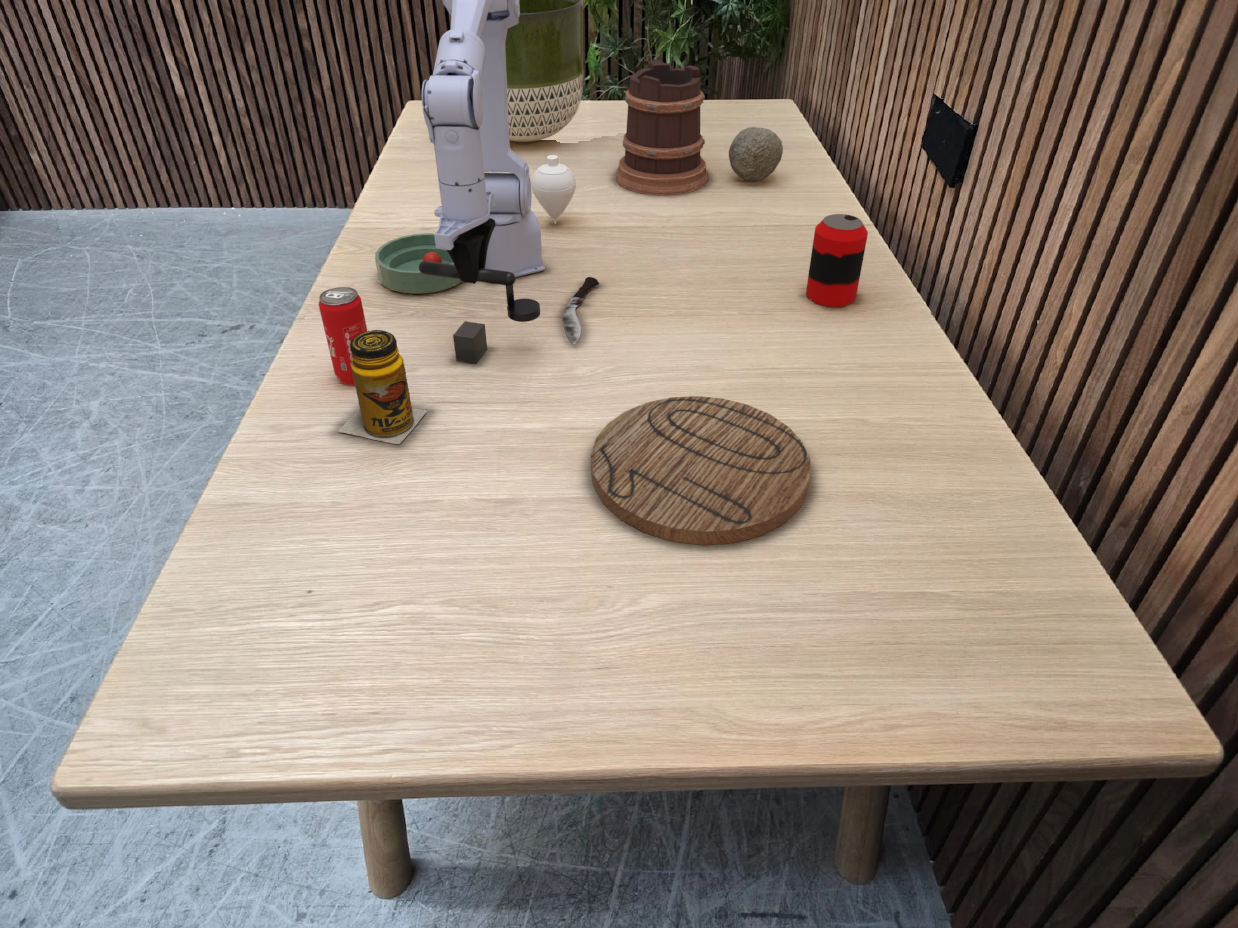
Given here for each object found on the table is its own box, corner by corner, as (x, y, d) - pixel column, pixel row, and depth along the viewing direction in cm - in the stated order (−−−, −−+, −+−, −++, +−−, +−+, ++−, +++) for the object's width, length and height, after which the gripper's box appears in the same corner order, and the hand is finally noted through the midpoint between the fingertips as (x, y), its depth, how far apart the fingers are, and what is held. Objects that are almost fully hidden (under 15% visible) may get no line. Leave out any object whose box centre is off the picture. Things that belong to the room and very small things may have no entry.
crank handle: (544, 308, 121) (542, 268, 117) (533, 324, 118) (531, 283, 114) (431, 292, 125) (425, 253, 121) (417, 307, 121) (411, 267, 118)
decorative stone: (729, 189, 170) (734, 136, 164) (724, 173, 177) (728, 121, 171) (783, 188, 171) (789, 136, 164) (775, 172, 177) (781, 121, 171)
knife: (592, 339, 124) (557, 341, 124) (593, 348, 125) (558, 349, 125) (599, 276, 138) (567, 277, 139) (599, 284, 139) (568, 285, 139)
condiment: (399, 445, 106) (383, 359, 99) (337, 432, 108) (317, 347, 101) (428, 412, 112) (414, 328, 104) (368, 400, 114) (350, 317, 106)
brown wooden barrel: (696, 152, 186) (701, 50, 174) (717, 193, 169) (725, 82, 156) (608, 155, 185) (607, 52, 172) (620, 197, 167) (620, 86, 155)
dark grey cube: (487, 349, 124) (485, 323, 121) (476, 364, 121) (473, 338, 118) (467, 346, 124) (464, 320, 122) (456, 361, 121) (452, 335, 119)
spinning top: (526, 229, 156) (521, 160, 148) (545, 213, 161) (541, 146, 154) (566, 235, 153) (563, 167, 146) (583, 219, 159) (582, 152, 152)
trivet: (750, 577, 89) (752, 564, 88) (548, 492, 99) (547, 479, 98) (841, 449, 106) (843, 436, 105) (659, 387, 116) (659, 375, 115)
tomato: (439, 264, 143) (436, 247, 142) (445, 272, 141) (443, 254, 140) (421, 269, 142) (418, 251, 140) (427, 276, 140) (425, 258, 138)
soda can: (865, 295, 136) (879, 221, 129) (838, 313, 132) (851, 237, 124) (823, 280, 140) (834, 207, 133) (795, 297, 136) (806, 222, 128)
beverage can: (366, 389, 116) (348, 307, 108) (329, 384, 117) (309, 303, 109) (382, 368, 120) (366, 287, 112) (346, 364, 121) (328, 284, 113)
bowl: (451, 249, 149) (448, 226, 147) (483, 283, 139) (480, 259, 137) (368, 267, 144) (363, 244, 141) (395, 304, 134) (391, 280, 132)
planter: (465, 118, 204) (452, -13, 187) (581, 115, 206) (578, -15, 189) (462, 159, 183) (446, 16, 166) (590, 154, 185) (588, 12, 169)
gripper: (455, 155, 117) (466, 251, 125) (405, 196, 106) (421, 298, 114) (505, 160, 115) (513, 257, 123) (460, 202, 104) (472, 305, 113)
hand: (472, 277), depth 119 cm, fingers closed on crank handle, 2 cm apart
